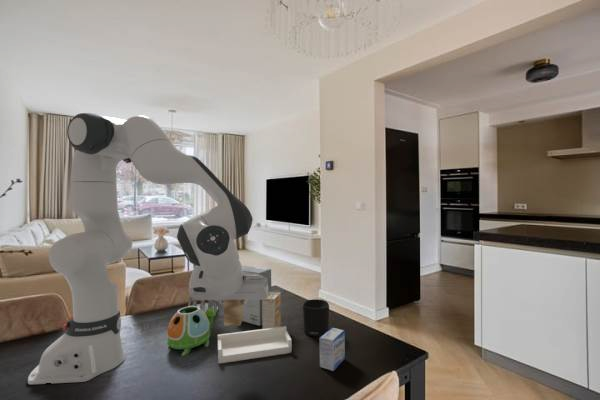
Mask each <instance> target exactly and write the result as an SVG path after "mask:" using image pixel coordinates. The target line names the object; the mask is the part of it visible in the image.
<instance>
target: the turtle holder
mask: <svg viewBox="0 0 600 400" xmlns="http://www.w3.org/2000/svg"><path fill="white" fill-rule="evenodd" d="M182 312H183V313H182ZM216 316H217V313H216V312H215V311H214V308H213V307H210V308H208V309H207V310H206V312H205V313H204V312H203V311H202V310H201V309H200V308H199V307H197V306H192V305H191V306H188V305H187V306H185V307H182V308H179V309H178V310H177V312H175V314H173V316H172V318H170V321H169V324H168V326H167V331H166V337H167V341H166V342H167V347H168V348H171V349H173V350H174V349H175V350H183V351H182V353H181V354H180V355H181V357H185V356H187V355H189V354H190V353H191V349H192V348H195V347H199V346H201V345H202V344H203V347H204V348H207V347H208V346H209V344H210V340H209V339H210V337H211V331H210V330H211V329H212V327H213V324H214V318H215V317H216Z"/></svg>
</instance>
